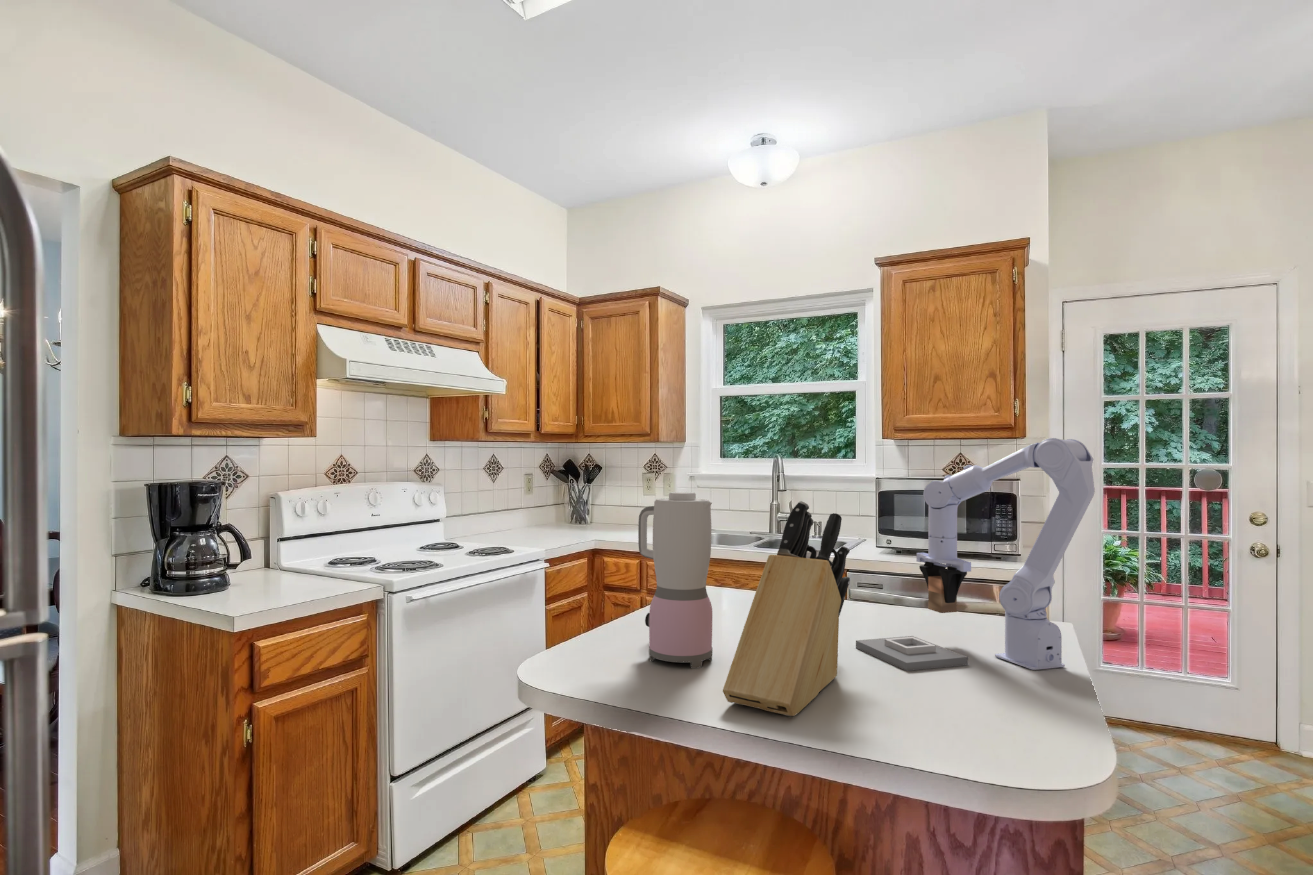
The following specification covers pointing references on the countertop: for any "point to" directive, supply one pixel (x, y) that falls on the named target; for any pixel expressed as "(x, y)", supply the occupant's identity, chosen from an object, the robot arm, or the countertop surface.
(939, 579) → the copper rectangular block
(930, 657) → the collar board
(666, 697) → the countertop surface
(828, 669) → the knife block
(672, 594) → the blender
